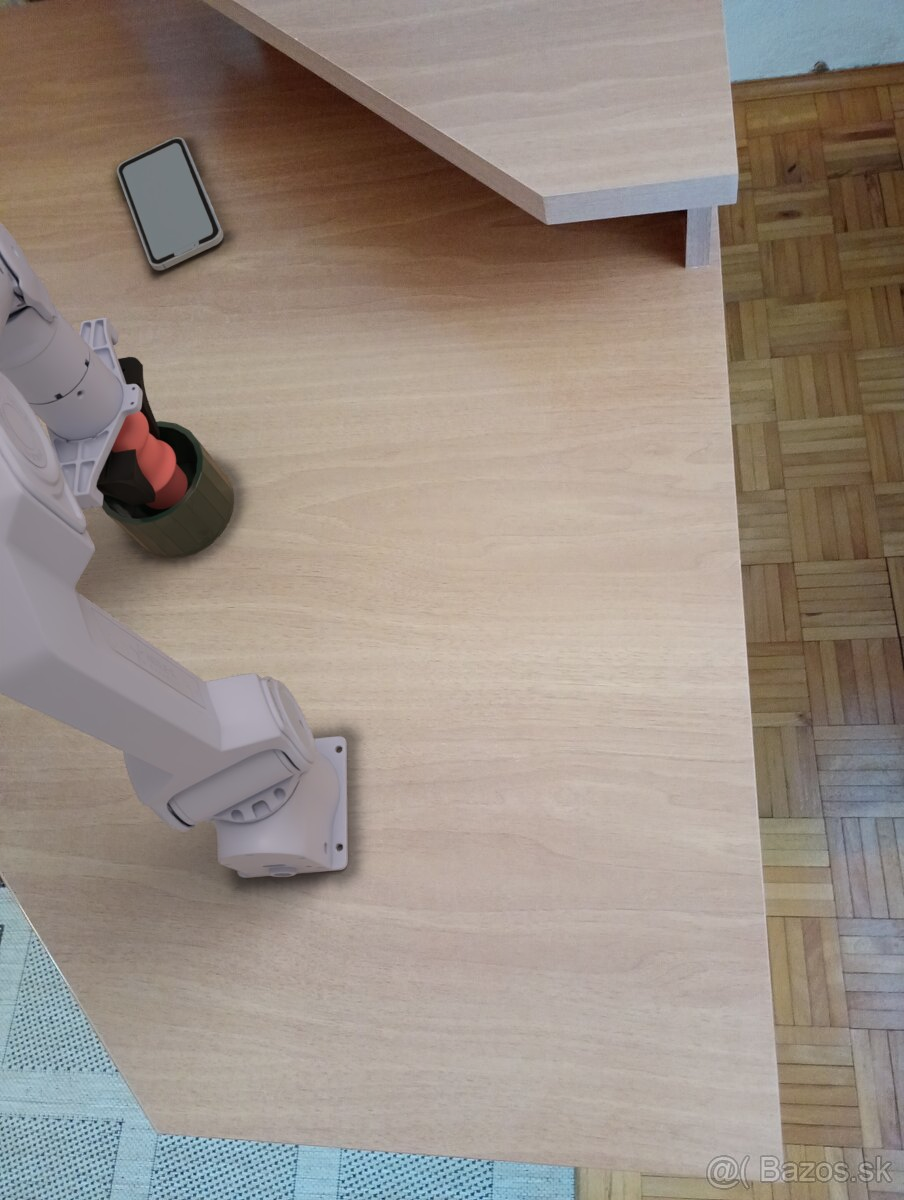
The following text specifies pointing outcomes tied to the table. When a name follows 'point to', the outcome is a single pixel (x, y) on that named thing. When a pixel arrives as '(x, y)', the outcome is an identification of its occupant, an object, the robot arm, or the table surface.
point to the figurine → (153, 461)
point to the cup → (180, 502)
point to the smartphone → (169, 204)
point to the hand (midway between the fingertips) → (145, 468)
